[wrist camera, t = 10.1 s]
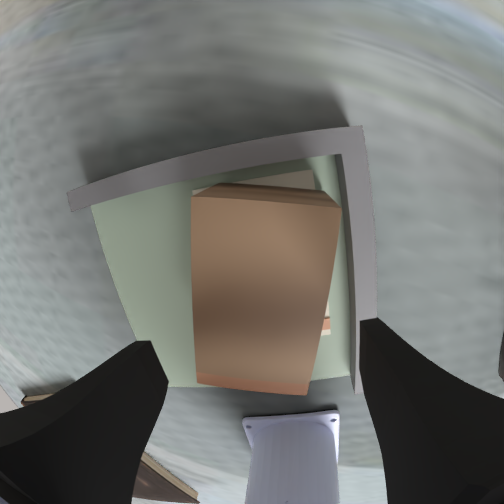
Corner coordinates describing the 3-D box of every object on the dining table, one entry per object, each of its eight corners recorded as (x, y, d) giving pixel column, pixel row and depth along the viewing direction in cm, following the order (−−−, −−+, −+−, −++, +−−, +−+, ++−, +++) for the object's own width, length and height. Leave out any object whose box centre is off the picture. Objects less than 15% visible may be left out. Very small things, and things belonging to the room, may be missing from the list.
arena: (365, 368, 19) (371, 391, 17) (160, 383, 22) (150, 403, 19) (350, 128, 14) (362, 125, 12) (89, 185, 17) (66, 192, 14)
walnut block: (219, 182, 15) (191, 196, 10) (323, 190, 15) (341, 208, 10) (217, 329, 18) (196, 383, 13) (303, 338, 18) (306, 395, 13)
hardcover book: (84, 383, 24) (74, 397, 22) (202, 491, 30) (199, 503, 28) (27, 393, 28) (19, 402, 26) (126, 485, 34) (122, 495, 32)
